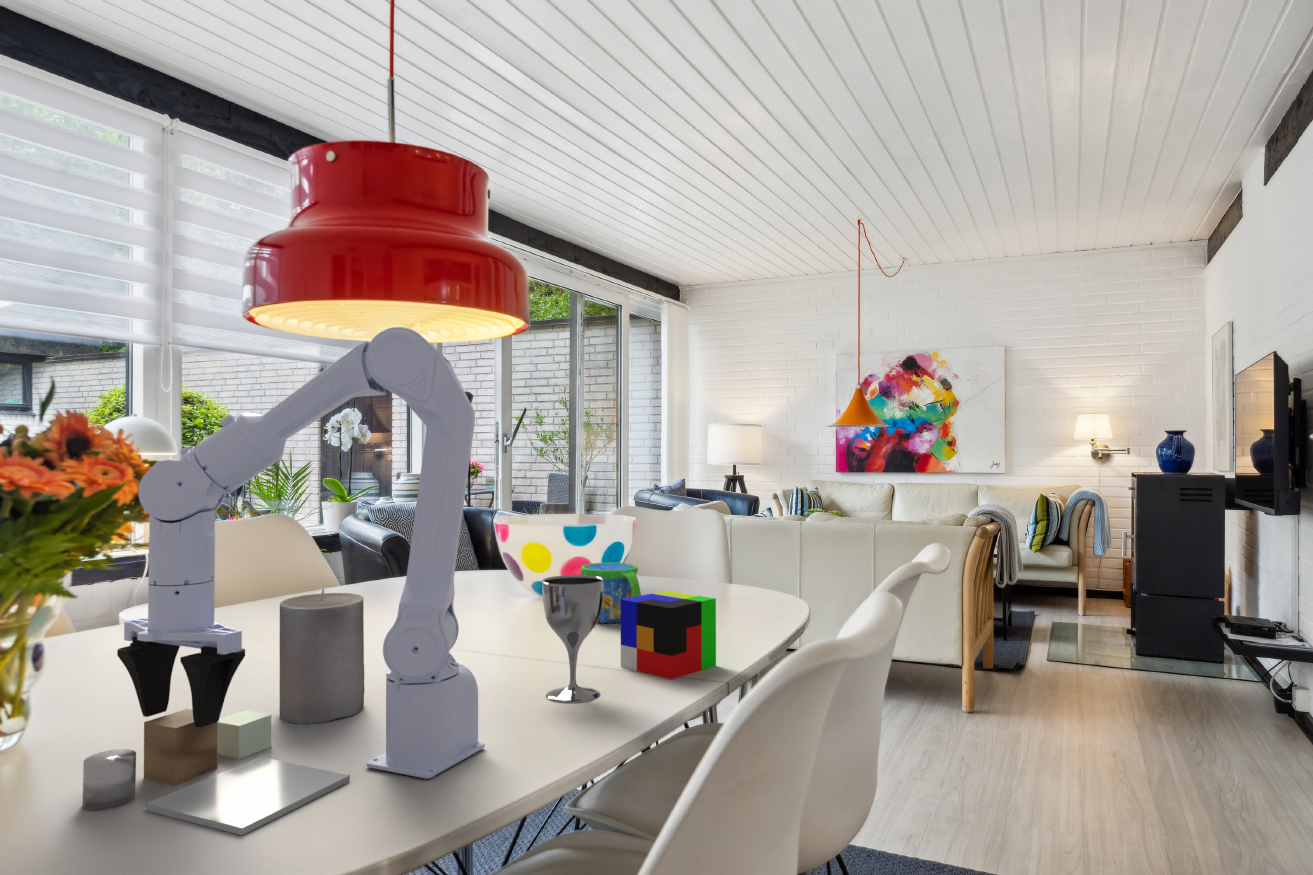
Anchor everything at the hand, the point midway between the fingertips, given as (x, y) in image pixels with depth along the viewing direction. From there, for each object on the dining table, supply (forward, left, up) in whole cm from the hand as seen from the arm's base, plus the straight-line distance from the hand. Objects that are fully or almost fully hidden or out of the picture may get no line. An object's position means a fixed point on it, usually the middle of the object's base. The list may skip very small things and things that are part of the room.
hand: (180, 718), depth 81 cm
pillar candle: (-20, -2, -6) cm, 21 cm away
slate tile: (+1, +11, -5) cm, 12 cm away
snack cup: (-82, +6, -6) cm, 82 cm away
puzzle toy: (-56, +29, -6) cm, 63 cm away
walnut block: (0, 0, -5) cm, 5 cm away
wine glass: (-38, +23, -6) cm, 45 cm away
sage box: (-7, 0, -6) cm, 9 cm away
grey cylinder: (+7, 0, -5) cm, 9 cm away
